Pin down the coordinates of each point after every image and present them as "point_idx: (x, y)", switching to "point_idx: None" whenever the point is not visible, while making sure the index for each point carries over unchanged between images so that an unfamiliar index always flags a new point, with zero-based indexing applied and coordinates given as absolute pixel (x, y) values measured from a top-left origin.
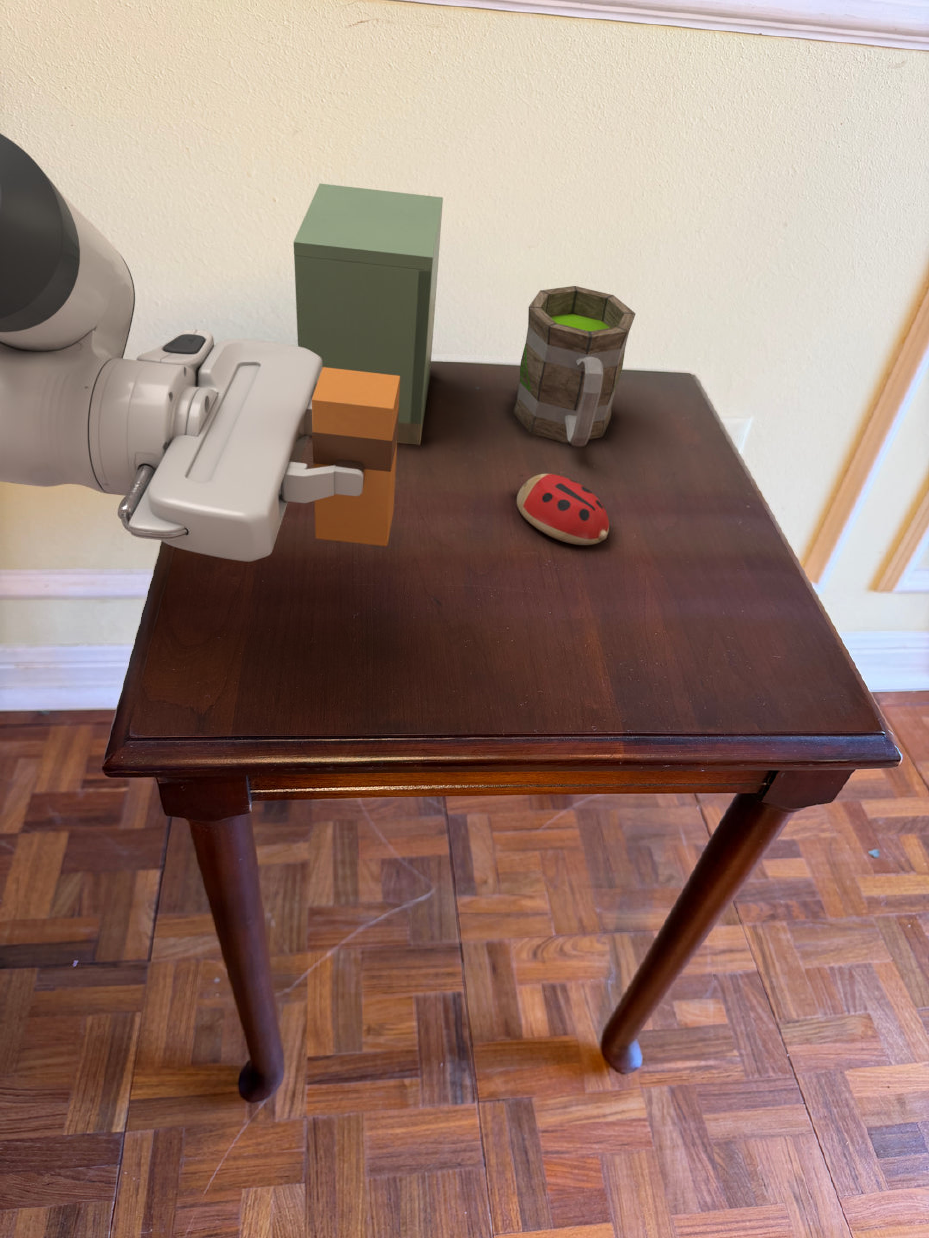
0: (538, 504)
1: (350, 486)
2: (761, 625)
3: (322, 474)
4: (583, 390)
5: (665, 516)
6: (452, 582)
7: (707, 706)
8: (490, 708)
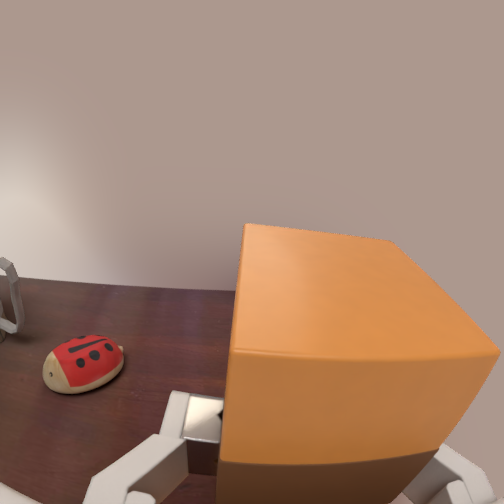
0: (81, 373)
1: None
2: (207, 308)
3: (451, 449)
4: (10, 283)
5: (99, 319)
6: None
7: None
8: None
